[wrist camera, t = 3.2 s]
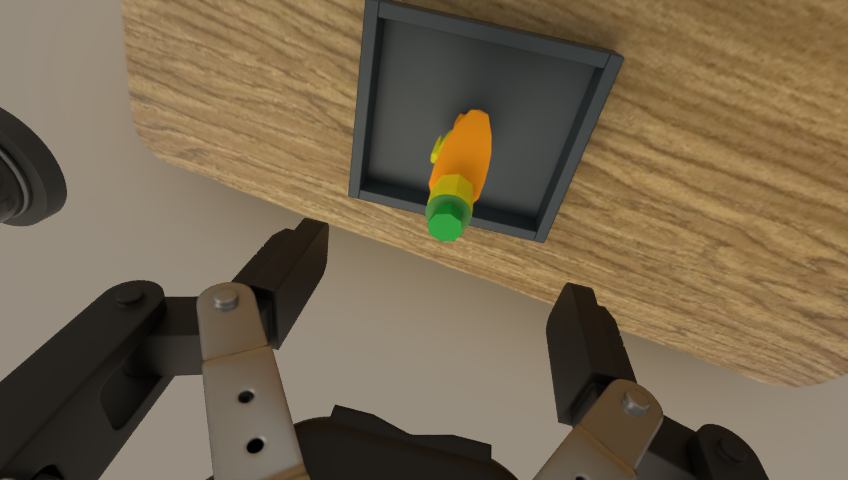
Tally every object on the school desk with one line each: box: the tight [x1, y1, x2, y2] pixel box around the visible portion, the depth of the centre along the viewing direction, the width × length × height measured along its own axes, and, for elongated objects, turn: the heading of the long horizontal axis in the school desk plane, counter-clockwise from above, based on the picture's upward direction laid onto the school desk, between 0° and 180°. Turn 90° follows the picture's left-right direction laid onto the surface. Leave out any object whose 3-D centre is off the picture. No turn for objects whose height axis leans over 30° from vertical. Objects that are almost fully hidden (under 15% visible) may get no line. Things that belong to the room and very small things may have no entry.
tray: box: [348, 0, 624, 243], centre depth 26 cm, size 15×13×2 cm
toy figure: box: [425, 110, 492, 241], centre depth 22 cm, size 7×4×12 cm, turn 165°
